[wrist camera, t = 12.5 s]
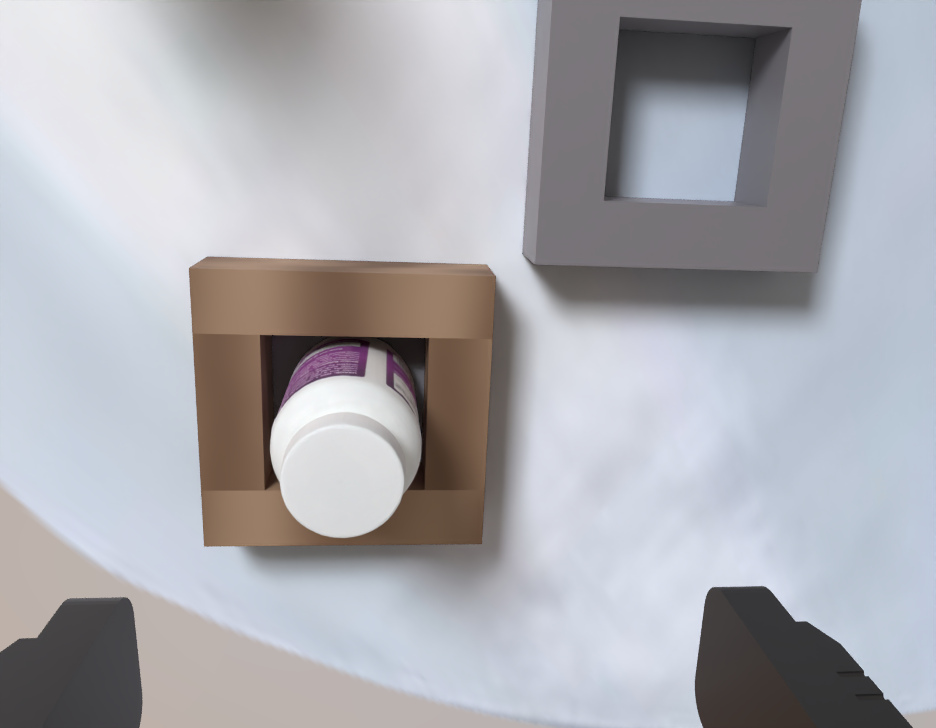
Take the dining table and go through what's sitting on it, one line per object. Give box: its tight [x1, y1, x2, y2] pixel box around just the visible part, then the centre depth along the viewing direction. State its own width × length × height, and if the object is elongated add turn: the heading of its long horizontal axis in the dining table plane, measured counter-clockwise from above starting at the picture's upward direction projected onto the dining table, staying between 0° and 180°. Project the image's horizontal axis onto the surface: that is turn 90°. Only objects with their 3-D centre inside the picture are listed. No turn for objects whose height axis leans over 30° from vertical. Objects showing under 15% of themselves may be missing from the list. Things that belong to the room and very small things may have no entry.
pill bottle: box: [270, 336, 422, 538], centre depth 29 cm, size 5×5×10 cm
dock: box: [189, 257, 496, 546], centre depth 32 cm, size 12×12×3 cm
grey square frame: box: [522, 0, 862, 273], centre depth 31 cm, size 12×12×3 cm
